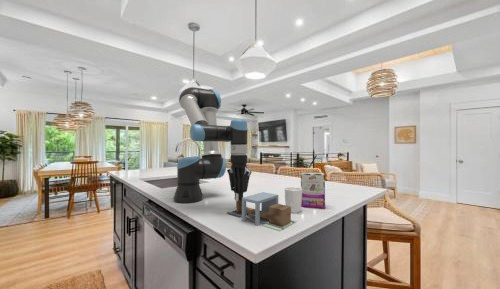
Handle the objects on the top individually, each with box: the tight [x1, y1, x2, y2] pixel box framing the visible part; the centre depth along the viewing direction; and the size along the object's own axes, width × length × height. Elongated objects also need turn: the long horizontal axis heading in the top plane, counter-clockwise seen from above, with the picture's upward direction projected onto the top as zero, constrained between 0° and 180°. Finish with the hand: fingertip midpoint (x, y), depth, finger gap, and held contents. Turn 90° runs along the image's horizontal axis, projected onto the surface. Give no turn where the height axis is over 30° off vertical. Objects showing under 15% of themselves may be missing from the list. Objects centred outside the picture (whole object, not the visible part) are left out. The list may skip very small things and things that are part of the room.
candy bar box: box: [300, 172, 326, 210], centre depth 105 cm, size 11×5×16 cm, turn 73°
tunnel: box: [226, 191, 295, 231], centre depth 89 cm, size 28×14×9 cm, turn 50°
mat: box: [262, 219, 297, 232], centre depth 82 cm, size 8×12×1 cm, turn 140°
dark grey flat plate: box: [226, 209, 249, 219], centre depth 95 cm, size 8×10×1 cm
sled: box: [235, 200, 292, 227], centre depth 88 cm, size 24×6×6 cm, turn 50°
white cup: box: [284, 186, 302, 214], centre depth 99 cm, size 8×8×10 cm
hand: (238, 207), depth 96 cm, fingers closed
